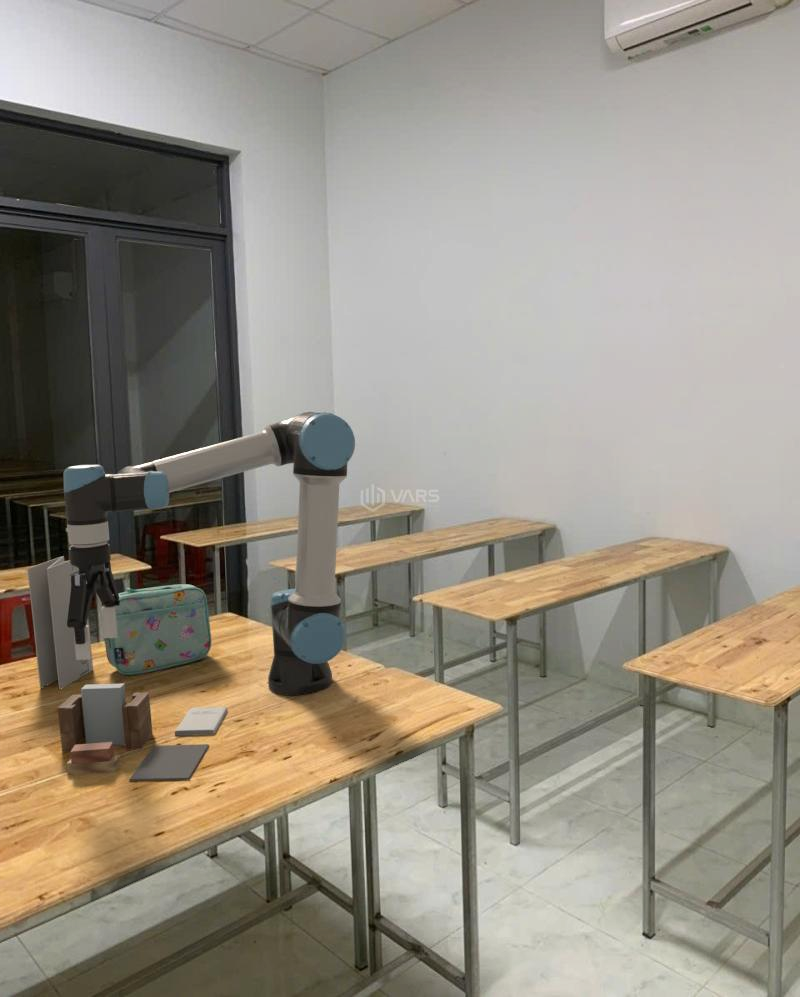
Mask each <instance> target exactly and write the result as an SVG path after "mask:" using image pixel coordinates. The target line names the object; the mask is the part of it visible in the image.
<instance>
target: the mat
mask: <svg viewBox="0 0 800 997" xmlns="http://www.w3.org/2000/svg"><path fill="white" fill-rule="evenodd" d="M209 747H210V745H209V744H207V743H206V744H205V743H204V744H203V743H201V744H198V743H197V744H170V745H169V744H167V745H166V744H165V745H163V744H161V745H159V744H158V745H153V746H152V748H151V749H150V750H149V752H148V754H147V755H146V756H145V757H144V759H143V760H142V761H141V763H140V764H139V766H138V767H136V769H135V771H134V772H133V773H132V775H131V776H130V777H129V779H128V780H129V782H144V781H145V782H149V781H151V782H152V781H157V782H158V781H184V780H185V781H188V780H189V781H190V779H191V777H192V776H193V773H194V772H195V770H196V769H197V767H198V765H199V764H200V762H201V760H202V758H203V757H204V755H205V754H206V751H207V750H208V748H209Z"/></svg>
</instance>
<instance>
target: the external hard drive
mask: <svg viewBox="0 0 800 997" xmlns="http://www.w3.org/2000/svg"><path fill="white" fill-rule="evenodd" d="M227 712H228V706H201V707H199V706H195V707H194V706H193V707H190V708H189V710H188V711H187V713H186V714H185V715H184V717H183V719H182V720H181V722H180V723H179V725H178V726H177V727H176V729H175V730H174V736H195V735H196V736H197V735H200V736H203V735H215V734H216V732H217V730H218V728H219V726H220V725H221V723H222V721H223V719H224V718H225V716H226V714H227Z"/></svg>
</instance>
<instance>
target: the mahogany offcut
mask: <svg viewBox="0 0 800 997" xmlns="http://www.w3.org/2000/svg"><path fill="white" fill-rule="evenodd" d="M69 753H70V759H71V763H72V764H81V763H93V762H105V761H110V760H111V759H112V757H113V755H115V752H114V745H113V742H103V743H90V744H86V743H80V744H78V745H74V747H73V748H72V750H71V751H69Z"/></svg>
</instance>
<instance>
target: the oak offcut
mask: <svg viewBox="0 0 800 997" xmlns="http://www.w3.org/2000/svg"><path fill="white" fill-rule="evenodd" d="M121 762H122V761H121V755H120V754H114V755H113V757H112V759H111V760H110V761H105V762H93V763H81V764H72V763H71V758H70V759H69V760H68V761H67V762H66V770H67V775H79V774H81V775H83V774H85V775H86V774H88V775H89V774H115V773H117V771H119V769H120V767H121V766H122V764H121Z"/></svg>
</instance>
